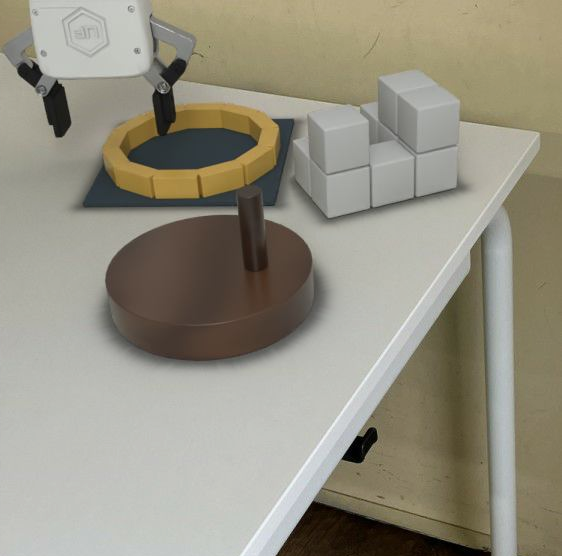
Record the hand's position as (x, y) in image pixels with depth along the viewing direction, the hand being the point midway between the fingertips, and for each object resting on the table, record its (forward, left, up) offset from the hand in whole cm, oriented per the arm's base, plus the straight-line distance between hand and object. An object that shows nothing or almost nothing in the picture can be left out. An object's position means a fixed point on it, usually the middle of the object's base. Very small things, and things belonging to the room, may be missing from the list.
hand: (114, 130), depth 93 cm
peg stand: (+13, -23, -3) cm, 26 cm away
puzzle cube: (+23, -3, -3) cm, 24 cm away
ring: (+7, 0, -3) cm, 8 cm away
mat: (+7, 0, -3) cm, 8 cm away
